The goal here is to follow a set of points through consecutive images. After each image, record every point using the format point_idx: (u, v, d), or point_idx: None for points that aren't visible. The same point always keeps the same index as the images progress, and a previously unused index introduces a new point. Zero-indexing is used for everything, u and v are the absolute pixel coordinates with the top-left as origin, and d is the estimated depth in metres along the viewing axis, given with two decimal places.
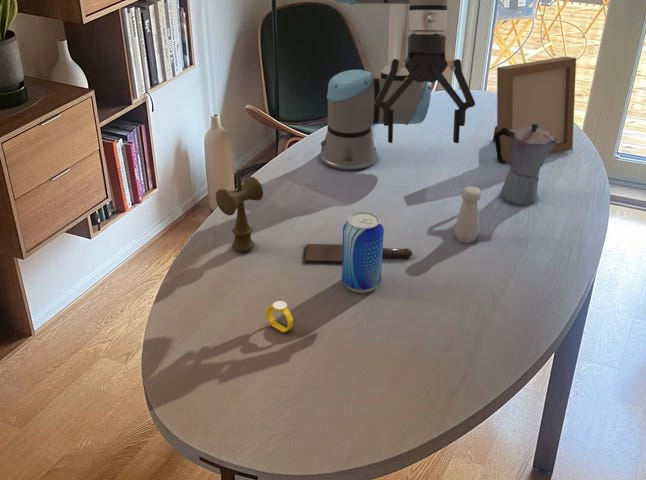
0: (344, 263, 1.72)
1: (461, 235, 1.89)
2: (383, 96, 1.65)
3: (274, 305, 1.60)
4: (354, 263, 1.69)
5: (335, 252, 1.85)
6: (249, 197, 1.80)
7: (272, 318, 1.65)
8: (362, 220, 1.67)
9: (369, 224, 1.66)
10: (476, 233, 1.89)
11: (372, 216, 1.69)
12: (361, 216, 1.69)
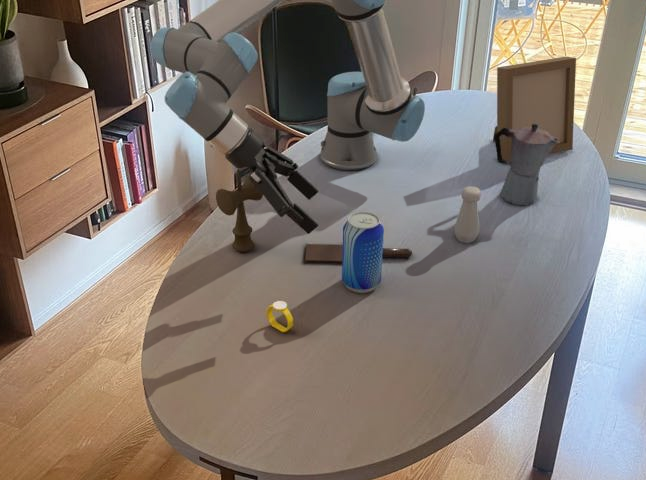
0: (344, 263, 1.72)
1: (461, 235, 1.89)
2: None
3: (274, 305, 1.60)
4: (354, 263, 1.69)
5: (335, 252, 1.85)
6: (249, 197, 1.80)
7: (272, 318, 1.65)
8: (362, 220, 1.67)
9: (369, 224, 1.66)
10: (476, 233, 1.89)
11: (372, 216, 1.69)
12: (361, 216, 1.69)
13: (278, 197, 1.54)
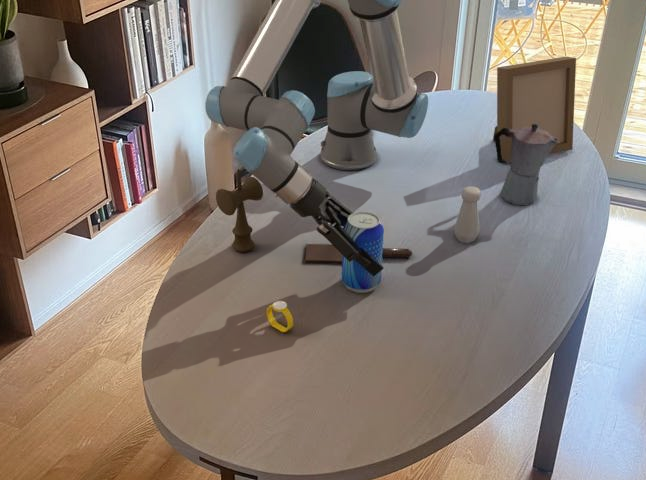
0: (344, 263, 1.72)
1: (461, 235, 1.89)
2: None
3: (274, 305, 1.60)
4: (354, 263, 1.69)
5: (335, 252, 1.85)
6: (249, 197, 1.80)
7: (272, 318, 1.65)
8: (362, 220, 1.67)
9: (369, 224, 1.66)
10: (476, 233, 1.89)
11: (372, 216, 1.69)
12: (361, 216, 1.69)
13: (347, 245, 1.62)
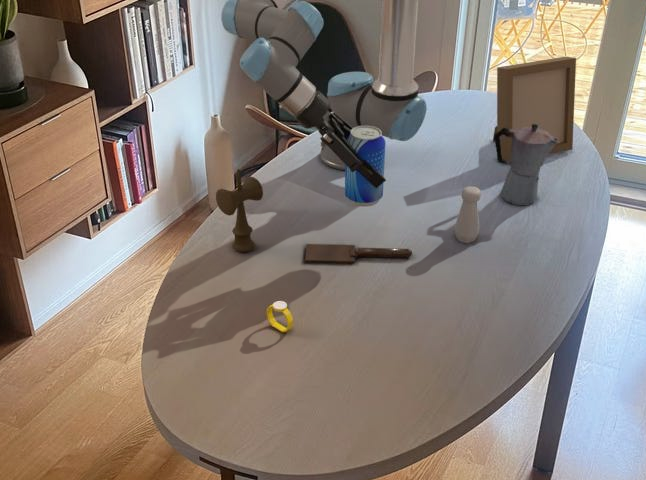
0: (347, 176, 1.76)
1: (461, 235, 1.89)
2: None
3: (274, 305, 1.60)
4: (357, 175, 1.74)
5: (335, 252, 1.85)
6: (249, 197, 1.80)
7: (272, 318, 1.65)
8: (365, 132, 1.72)
9: (371, 136, 1.71)
10: (476, 233, 1.89)
11: (374, 129, 1.74)
12: (363, 129, 1.74)
13: (350, 154, 1.67)
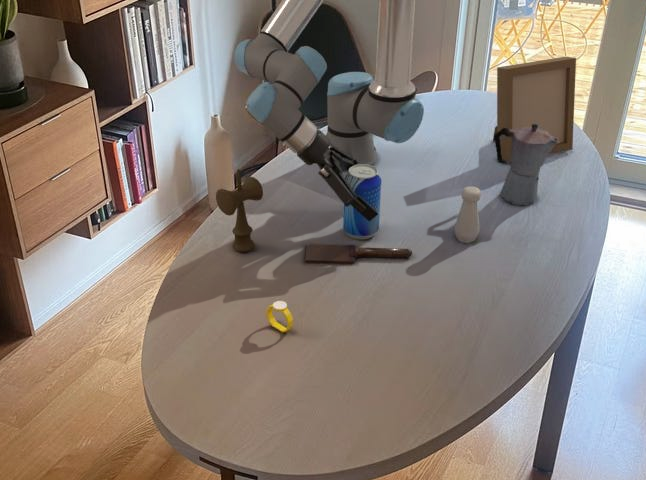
0: (345, 211, 1.89)
1: (461, 235, 1.89)
2: None
3: (274, 305, 1.60)
4: (354, 211, 1.86)
5: (335, 252, 1.85)
6: (249, 197, 1.80)
7: (272, 318, 1.65)
8: (362, 171, 1.84)
9: (368, 175, 1.83)
10: (476, 233, 1.89)
11: (371, 168, 1.86)
12: (361, 168, 1.86)
13: (344, 189, 1.77)
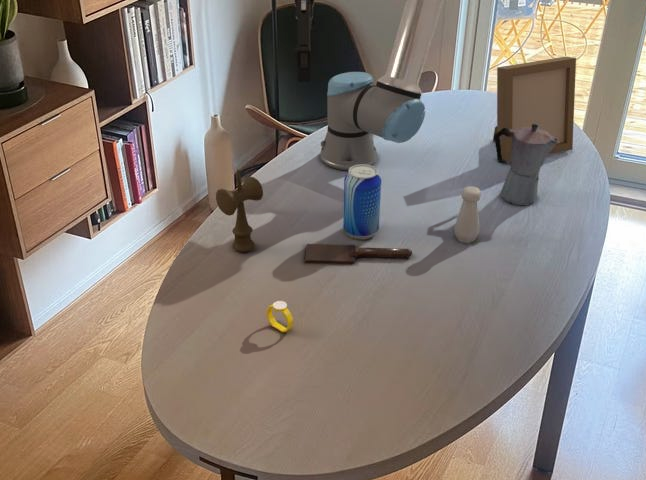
0: (345, 211, 1.89)
1: (461, 235, 1.89)
2: None
3: (274, 305, 1.60)
4: (354, 211, 1.86)
5: (335, 252, 1.85)
6: (249, 197, 1.80)
7: (272, 318, 1.65)
8: (362, 171, 1.84)
9: (368, 175, 1.83)
10: (476, 233, 1.89)
11: (371, 168, 1.86)
12: (361, 168, 1.86)
13: (308, 34, 1.64)
